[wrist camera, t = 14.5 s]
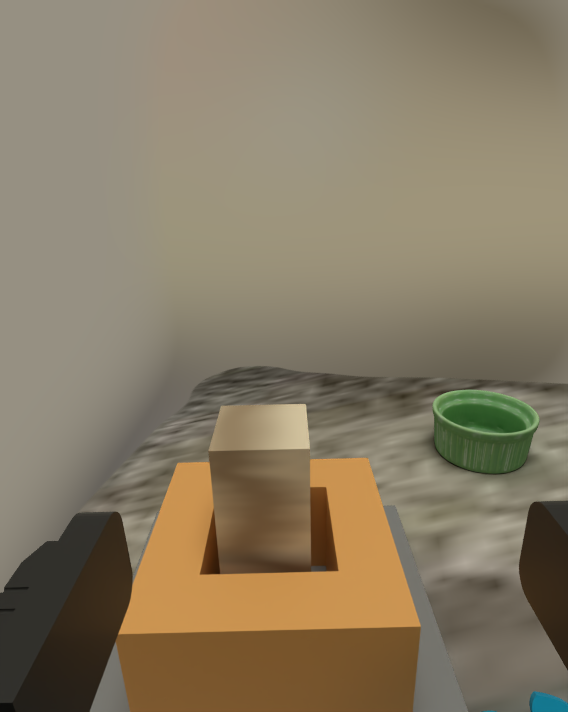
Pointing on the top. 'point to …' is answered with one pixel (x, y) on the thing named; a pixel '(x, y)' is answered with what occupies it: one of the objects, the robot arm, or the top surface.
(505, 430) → the ramekin
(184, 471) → the orange square frame
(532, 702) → the gear
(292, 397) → the top surface
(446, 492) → the top surface
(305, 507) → the tall wooden block
